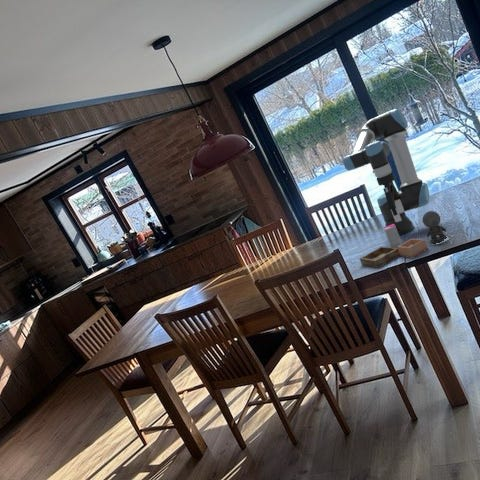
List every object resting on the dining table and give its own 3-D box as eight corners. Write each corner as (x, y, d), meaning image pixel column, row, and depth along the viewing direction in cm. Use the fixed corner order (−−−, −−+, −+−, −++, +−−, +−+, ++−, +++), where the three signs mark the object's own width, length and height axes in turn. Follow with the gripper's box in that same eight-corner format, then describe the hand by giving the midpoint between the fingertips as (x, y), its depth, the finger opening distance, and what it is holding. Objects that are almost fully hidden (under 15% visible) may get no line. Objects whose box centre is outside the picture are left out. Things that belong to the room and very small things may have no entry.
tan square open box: (415, 247, 213) (411, 238, 213) (427, 249, 205) (424, 239, 204) (400, 256, 211) (396, 246, 210) (412, 257, 203) (409, 248, 202)
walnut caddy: (383, 252, 226) (381, 246, 226) (401, 254, 213) (398, 248, 212) (361, 264, 223) (359, 258, 223) (378, 267, 210) (375, 261, 209)
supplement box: (403, 246, 223) (395, 225, 221) (391, 250, 224) (383, 230, 222) (401, 243, 228) (393, 223, 226) (390, 247, 230) (382, 227, 228)
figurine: (447, 235, 211) (437, 206, 209) (450, 241, 202) (439, 211, 200) (429, 240, 214) (418, 212, 212) (431, 247, 205) (420, 218, 203)
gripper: (379, 171, 214) (395, 211, 217) (371, 184, 193) (388, 227, 196) (395, 166, 210) (410, 206, 214) (388, 178, 189) (405, 222, 192)
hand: (400, 216), depth 205 cm, fingers open, 13 cm apart
